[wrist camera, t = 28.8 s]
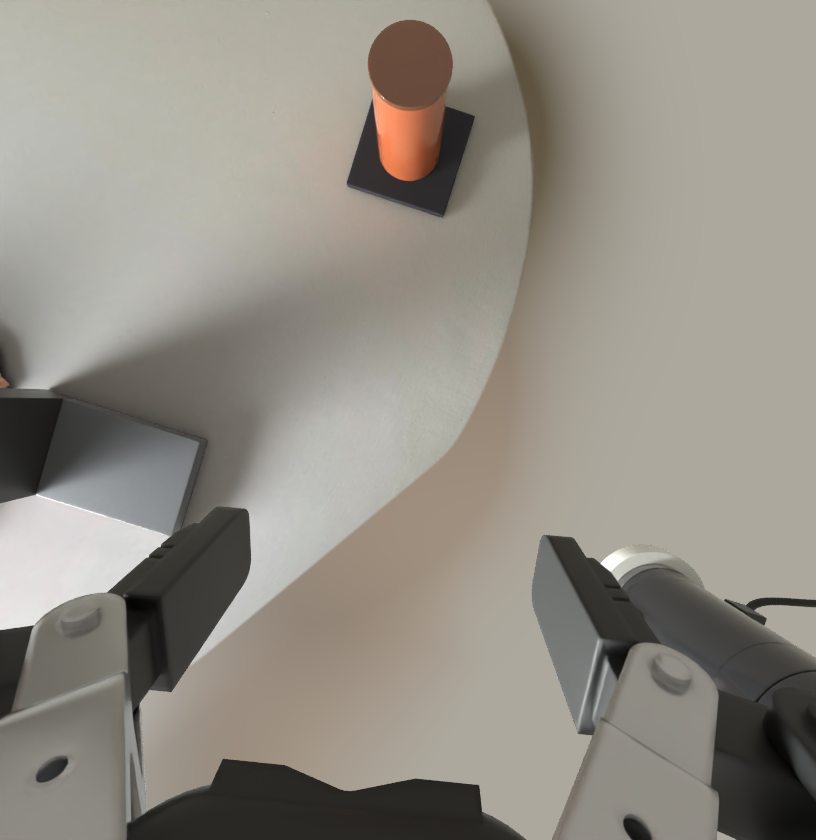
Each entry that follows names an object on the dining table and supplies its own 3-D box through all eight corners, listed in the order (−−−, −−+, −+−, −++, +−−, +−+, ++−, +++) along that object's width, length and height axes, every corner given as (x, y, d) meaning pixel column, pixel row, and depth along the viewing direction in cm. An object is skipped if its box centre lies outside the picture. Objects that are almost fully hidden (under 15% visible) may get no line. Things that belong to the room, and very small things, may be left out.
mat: (473, 120, 40) (474, 115, 39) (442, 218, 40) (443, 215, 40) (377, 87, 40) (377, 83, 39) (347, 186, 40) (346, 183, 39)
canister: (449, 129, 39) (463, 35, 29) (429, 190, 39) (437, 118, 29) (388, 108, 39) (382, 8, 29) (369, 171, 39) (356, 92, 29)
